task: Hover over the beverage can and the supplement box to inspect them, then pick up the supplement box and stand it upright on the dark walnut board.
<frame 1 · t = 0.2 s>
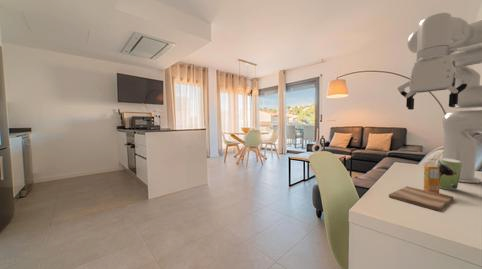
hand: (429, 108, 60), 31 cm above the table, tool pointing down, fingers open, 9 cm apart
supplement box: (430, 192, 67), on the table
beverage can: (446, 189, 71), on the table
walnut board: (420, 198, 62), on the table
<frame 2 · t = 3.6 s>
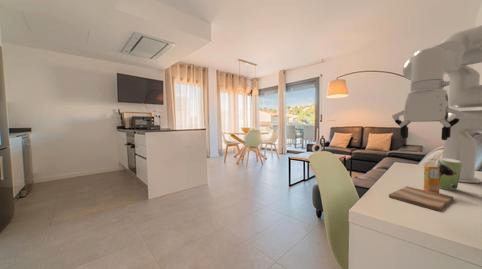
hand: (423, 138, 61), 21 cm above the table, tool pointing down, fingers open, 9 cm apart
nothing on the table moved.
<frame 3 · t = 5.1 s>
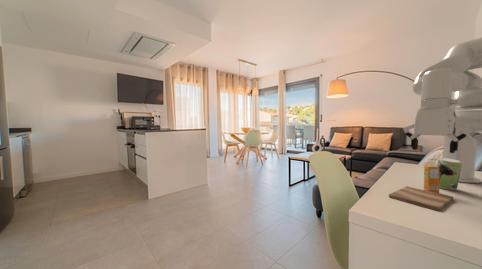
hand: (432, 151, 66), 16 cm above the table, tool pointing down, fingers open, 9 cm apart
nothing on the table moved.
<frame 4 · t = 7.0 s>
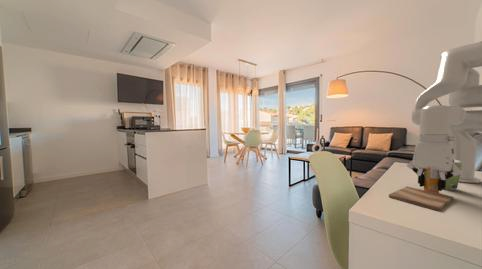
hand: (431, 187, 67), 2 cm above the table, tool pointing down, fingers closed on supplement box, 4 cm apart
supplement box: (430, 192, 67), on the table, touching gripper
everything else where it was.
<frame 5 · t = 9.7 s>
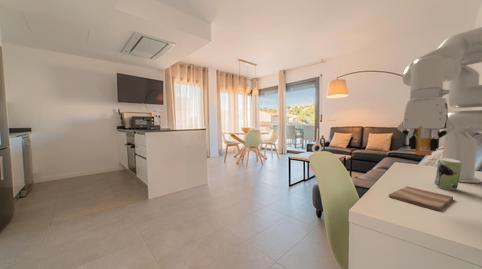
hand: (422, 149, 61), 17 cm above the table, tool pointing down, fingers closed on supplement box, 4 cm apart
supplement box: (422, 155, 61), point 15 cm above the table, touching gripper
everything else where it was.
when the fingers open (4 cm above the table, at t = 12.4 s): supplement box stays where it is, resting on walnut board.
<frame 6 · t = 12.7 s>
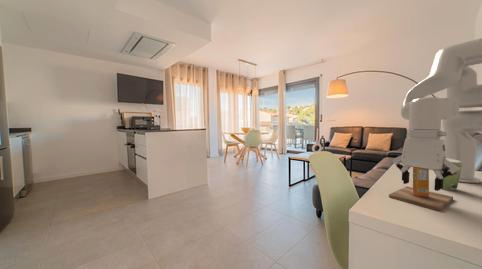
hand: (420, 186, 61), 4 cm above the table, tool pointing down, fingers open, 7 cm apart
supplement box: (419, 195, 62), point 1 cm above the table, touching walnut board
everything else where it was.
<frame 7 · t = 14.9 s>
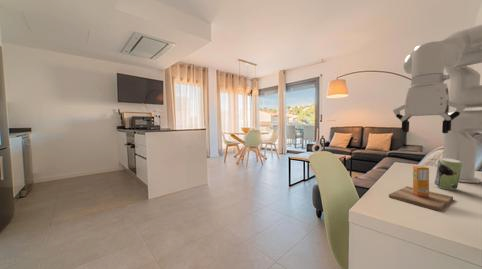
hand: (424, 132, 61), 23 cm above the table, tool pointing down, fingers open, 9 cm apart
nothing on the table moved.
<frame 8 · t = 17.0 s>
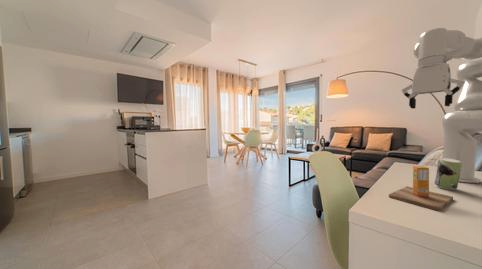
hand: (429, 107, 71), 32 cm above the table, tool pointing down, fingers open, 9 cm apart
nothing on the table moved.
at the end: supplement box inside the target area on the walnut board (0.3 cm from its centre), point 0.8 cm above the walnut board's base; supplement box tilted 0°; the gripper is holding nothing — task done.
